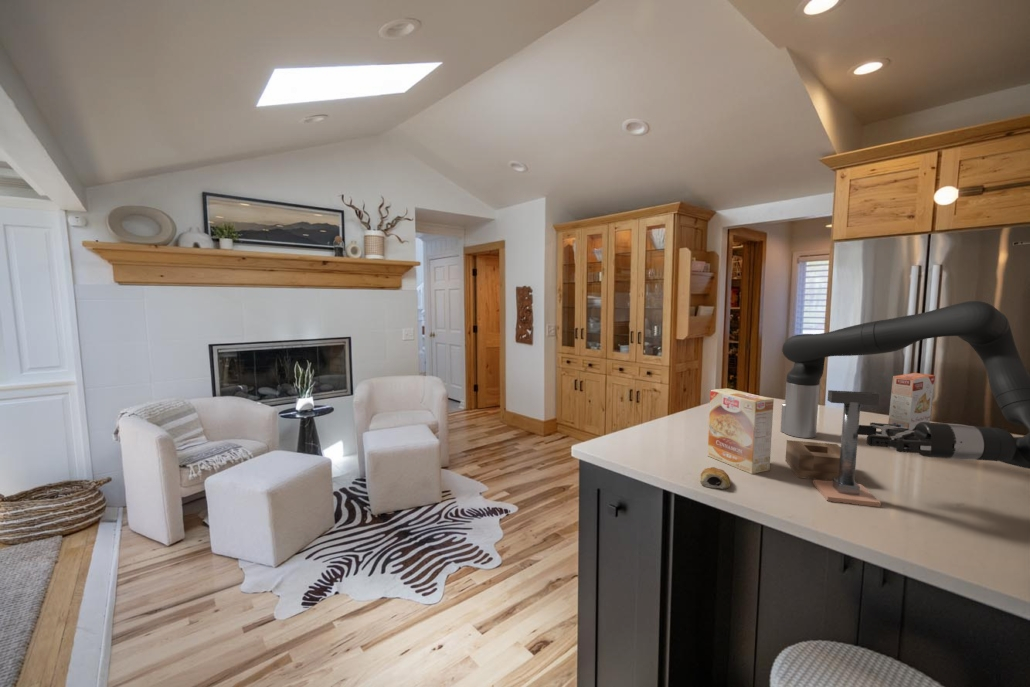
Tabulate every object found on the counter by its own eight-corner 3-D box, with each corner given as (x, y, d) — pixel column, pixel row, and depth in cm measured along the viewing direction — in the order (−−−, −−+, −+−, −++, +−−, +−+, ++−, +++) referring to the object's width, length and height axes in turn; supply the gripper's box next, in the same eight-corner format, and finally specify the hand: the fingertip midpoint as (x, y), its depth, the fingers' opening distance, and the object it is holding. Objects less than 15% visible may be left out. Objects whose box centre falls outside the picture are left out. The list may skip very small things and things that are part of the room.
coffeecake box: (706, 456, 132) (709, 389, 129) (724, 452, 134) (727, 387, 132) (751, 474, 118) (755, 400, 116) (770, 470, 121) (775, 398, 119)
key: (826, 491, 105) (833, 393, 103) (820, 484, 109) (827, 389, 107) (872, 496, 103) (880, 395, 100) (864, 489, 106) (872, 391, 104)
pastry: (701, 473, 119) (702, 459, 119) (730, 478, 117) (731, 463, 116) (699, 487, 111) (700, 472, 111) (730, 492, 108) (731, 477, 108)
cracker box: (908, 446, 139) (915, 378, 137) (885, 440, 144) (891, 375, 142) (930, 439, 146) (936, 374, 143) (906, 434, 151) (912, 371, 149)
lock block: (798, 477, 116) (799, 454, 115) (785, 460, 127) (786, 440, 127) (853, 483, 112) (855, 459, 112) (835, 465, 124) (836, 444, 123)
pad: (827, 501, 103) (827, 496, 103) (813, 483, 112) (813, 479, 112) (880, 507, 100) (880, 502, 100) (860, 488, 109) (861, 484, 109)
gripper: (930, 415, 105) (848, 410, 110) (970, 433, 92) (874, 427, 97) (927, 447, 106) (845, 440, 111) (966, 469, 93) (872, 461, 97)
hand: (859, 434), depth 104 cm, fingers open, 8 cm apart
